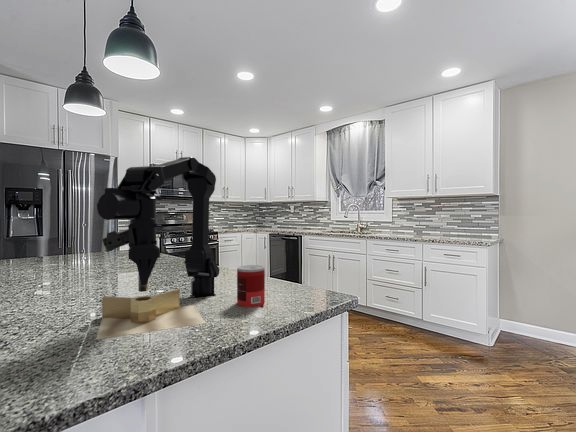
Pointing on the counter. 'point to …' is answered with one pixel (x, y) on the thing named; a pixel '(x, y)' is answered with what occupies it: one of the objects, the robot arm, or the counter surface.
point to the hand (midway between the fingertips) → (143, 283)
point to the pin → (142, 286)
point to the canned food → (251, 286)
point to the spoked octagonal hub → (140, 306)
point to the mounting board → (150, 323)
